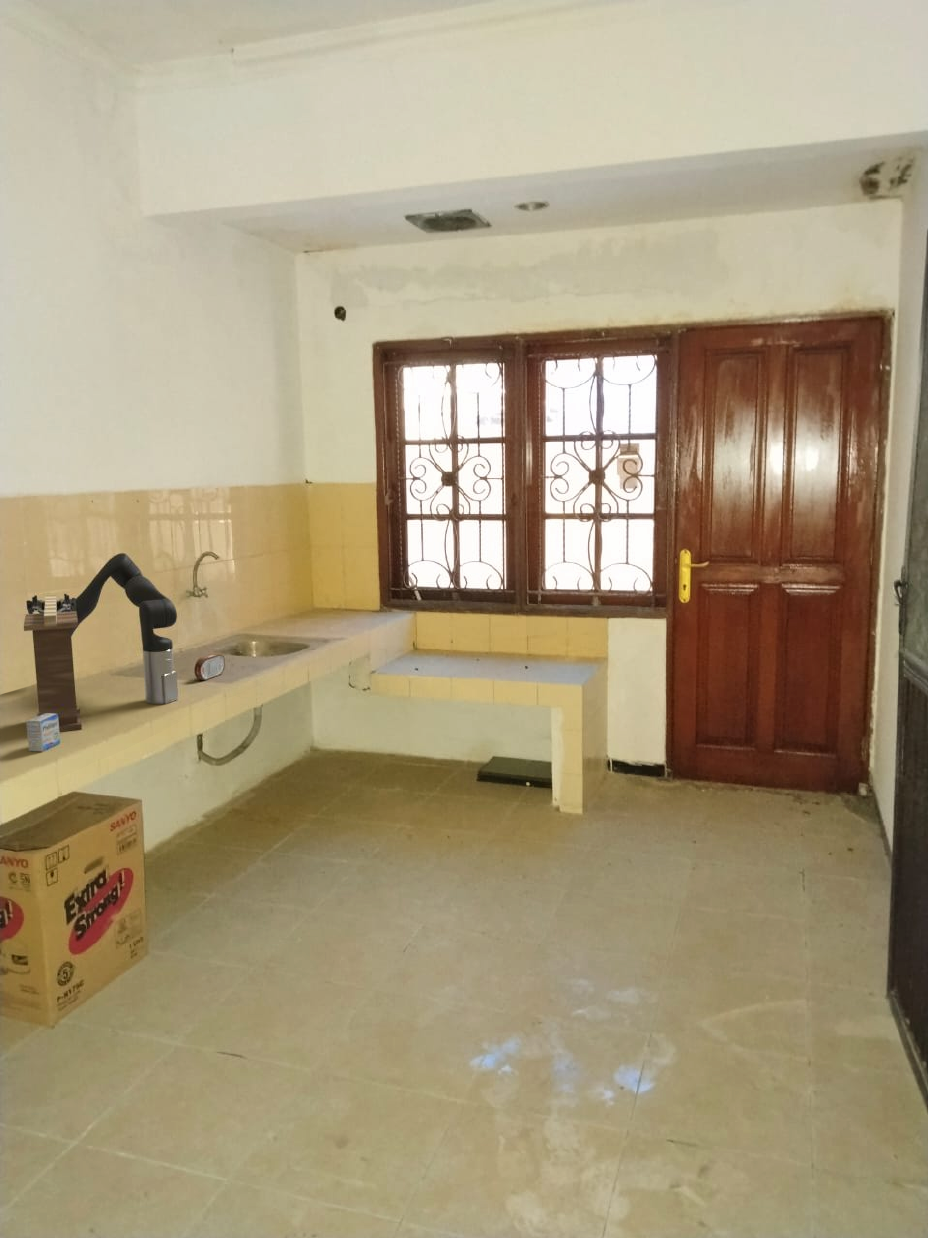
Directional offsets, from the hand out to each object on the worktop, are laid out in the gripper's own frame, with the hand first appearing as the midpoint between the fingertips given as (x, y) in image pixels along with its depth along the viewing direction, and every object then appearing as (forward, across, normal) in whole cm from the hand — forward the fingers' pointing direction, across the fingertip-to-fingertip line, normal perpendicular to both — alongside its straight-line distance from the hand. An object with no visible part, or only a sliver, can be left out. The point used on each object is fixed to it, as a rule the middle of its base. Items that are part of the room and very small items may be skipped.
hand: (50, 597), depth 283 cm
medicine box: (+19, -4, +52) cm, 56 cm away
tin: (-36, +50, +21) cm, 65 cm away
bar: (+10, 0, +10) cm, 14 cm away
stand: (0, 0, +40) cm, 41 cm away
